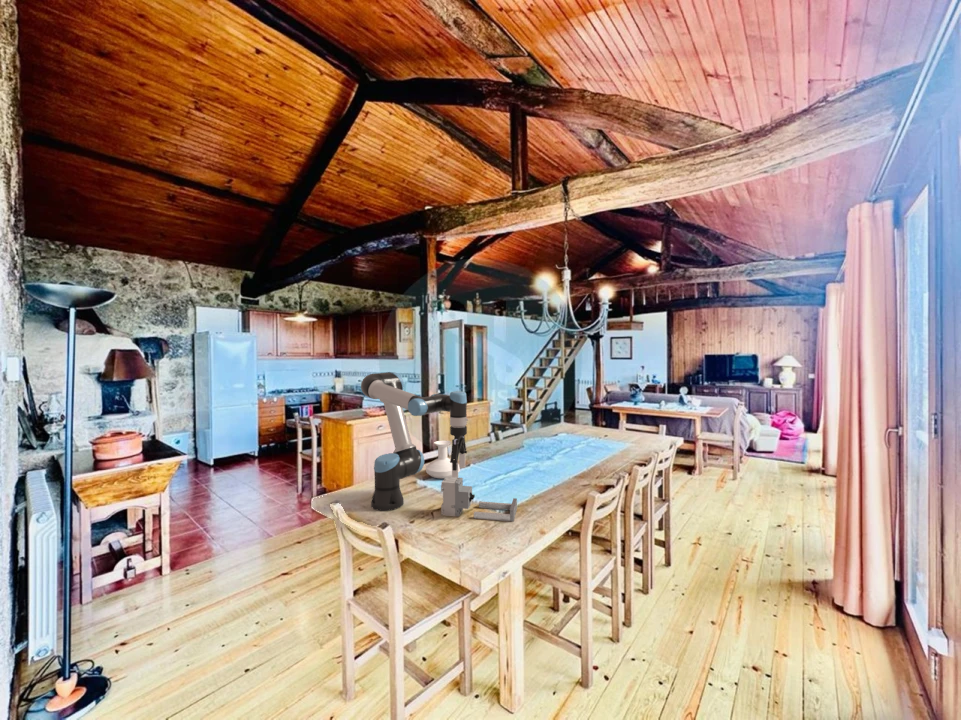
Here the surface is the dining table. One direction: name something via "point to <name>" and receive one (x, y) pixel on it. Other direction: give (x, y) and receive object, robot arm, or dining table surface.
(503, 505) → the channel
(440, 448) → the white vase
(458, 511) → the circuit breaker
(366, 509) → the dining table surface
